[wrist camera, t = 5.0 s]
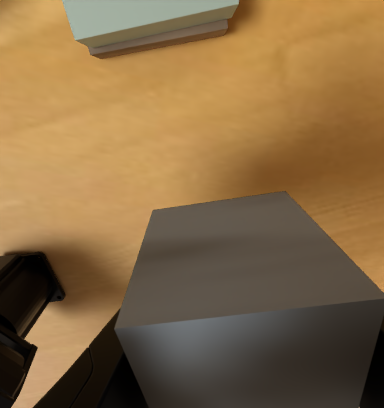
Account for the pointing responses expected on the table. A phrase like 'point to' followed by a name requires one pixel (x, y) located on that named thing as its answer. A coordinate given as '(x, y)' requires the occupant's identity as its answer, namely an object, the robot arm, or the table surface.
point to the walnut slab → (162, 39)
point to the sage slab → (139, 17)
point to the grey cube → (247, 309)
